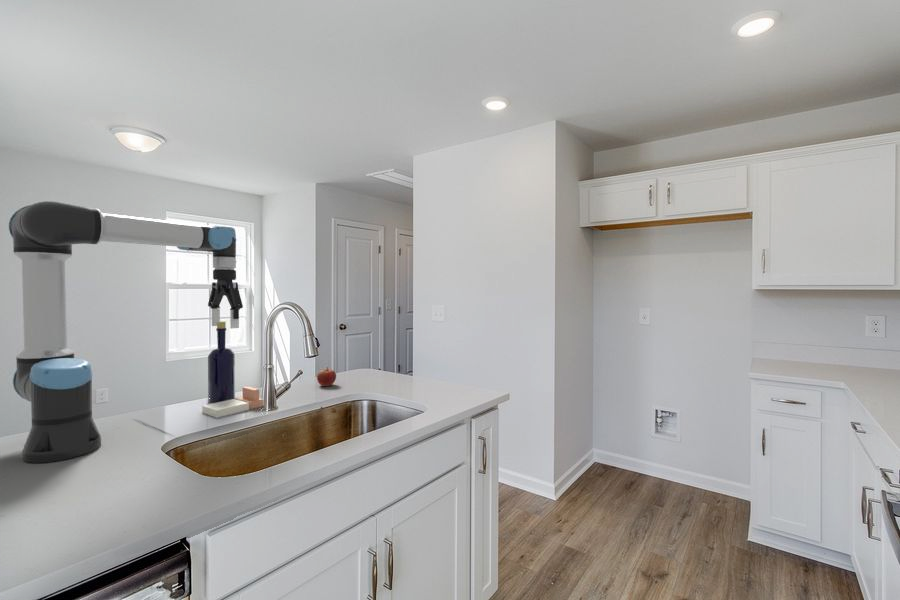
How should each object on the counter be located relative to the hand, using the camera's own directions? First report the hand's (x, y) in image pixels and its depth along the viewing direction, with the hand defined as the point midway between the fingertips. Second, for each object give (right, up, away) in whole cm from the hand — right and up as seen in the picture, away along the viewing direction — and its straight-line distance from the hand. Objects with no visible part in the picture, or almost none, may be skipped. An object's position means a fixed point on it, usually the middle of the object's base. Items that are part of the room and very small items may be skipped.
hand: (225, 327), depth 159 cm
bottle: (-1, -28, 0) cm, 28 cm away
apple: (+29, -28, +29) cm, 50 cm away
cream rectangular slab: (+8, -27, -14) cm, 32 cm away
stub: (+12, -27, -7) cm, 31 cm away
